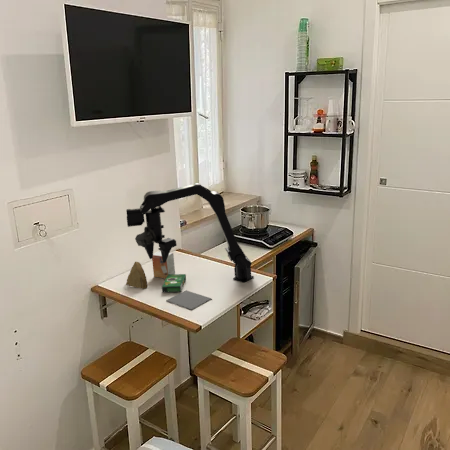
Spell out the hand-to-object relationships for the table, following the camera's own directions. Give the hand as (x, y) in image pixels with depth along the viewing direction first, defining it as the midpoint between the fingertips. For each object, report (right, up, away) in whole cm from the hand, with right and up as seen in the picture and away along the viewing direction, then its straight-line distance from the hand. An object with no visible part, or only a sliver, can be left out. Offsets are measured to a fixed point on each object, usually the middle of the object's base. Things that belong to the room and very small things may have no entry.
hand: (157, 260), depth 193 cm
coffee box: (+5, -12, +1) cm, 13 cm away
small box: (0, -8, +19) cm, 21 cm away
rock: (-10, -12, +10) cm, 19 cm away
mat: (+13, -15, -7) cm, 21 cm away
